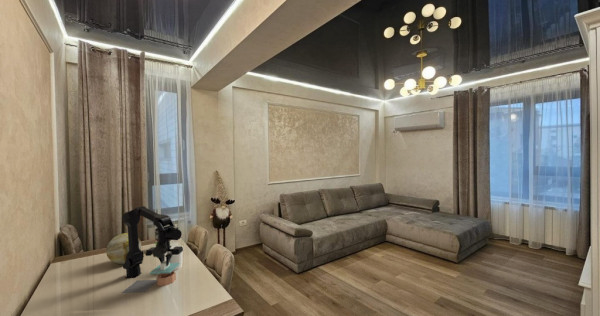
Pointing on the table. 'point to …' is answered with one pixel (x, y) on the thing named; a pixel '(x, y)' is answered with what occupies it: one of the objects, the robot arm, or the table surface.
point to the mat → (140, 286)
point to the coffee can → (156, 237)
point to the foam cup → (177, 259)
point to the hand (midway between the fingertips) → (165, 265)
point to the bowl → (165, 278)
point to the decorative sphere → (119, 248)
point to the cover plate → (168, 270)
